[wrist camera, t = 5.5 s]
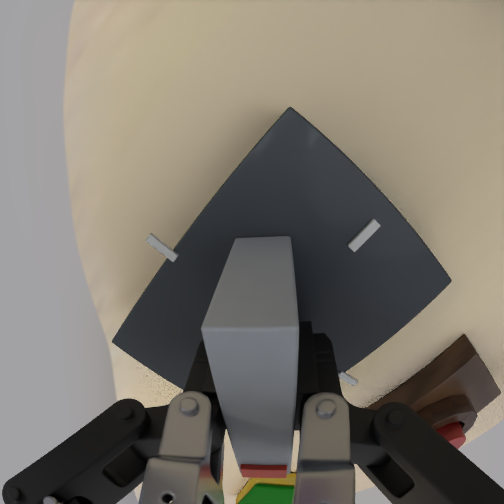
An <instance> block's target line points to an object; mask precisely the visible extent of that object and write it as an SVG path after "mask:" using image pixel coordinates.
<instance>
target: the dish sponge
mask: <svg viewBox="0 0 504 504" xmlns="http://www.w3.org/2000/svg"><path fill="white" fill-rule="evenodd" d="M295 478H296V473H290V474H287V476H286V478H251V479H250V480H249V482H248V483H247V484H246V485H245V487H244V488H243V489H242V490H241V492H240V493H239V494H238V495H237V498H236V504H292V500H293V493H294V486H295Z"/></svg>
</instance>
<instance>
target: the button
mask: <svg viewBox="0 0 504 504" xmlns="http://www.w3.org/2000/svg"><path fill="white" fill-rule="evenodd" d="M436 431H437V432H438V433H440V434H441V435H442V436H443V437H444V438H445V439H446V440H447V441H449V442H450V443H451V444H452V445H453V446H454V447H455V448H457V449H458V448H459V447H460V446H462V445H463V443H464V442H465V440H466V437H465V434H464V432H463V429H462V427H461V424H460V422H454V423H449V424H447V425H445V426H443V427H440V428H438V429H436Z"/></svg>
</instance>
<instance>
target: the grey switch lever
mask: <svg viewBox="0 0 504 504" xmlns="http://www.w3.org/2000/svg"><path fill="white" fill-rule="evenodd" d="M201 331H202V335H203V340H204V344H205V348H206V353H207V357H208V361H209V365H210V369H211V373H212V377H213V381H214V385H215V388H216V392H217V396H218V400H219V403H220V407H221V410H222V414H223V418H224V421H225V424H226V428H227V431H228V435H229V438H230V441H231V444H232V448H233V451H234V454H235V457H236V460H237V463H238V466H239V469H240V472H241V473H242V476H243V477H251V478H286V476H287V474H290V471H291V460H292V449H293V437H294V424H295V410H296V394H297V374H298V350H299V320H298V308H297V296H296V285H295V274H294V264H293V254H292V244H291V238H290V237H289V236H277V237H250V238H236V239H235V241H234V244H233V246H232V249H231V251H230V254H229V257H228V259H227V262H226V264H225V267H224V269H223V272H222V274H221V277H220V280H219V282H218V285H217V287H216V290H215V293H214V295H213V298H212V300H211V303H210V306H209V308H208V311H207V314H206V316H205V319H204V322H203V324H202V327H201Z"/></svg>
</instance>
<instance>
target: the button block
mask: <svg viewBox="0 0 504 504" xmlns="http://www.w3.org/2000/svg"><path fill="white" fill-rule="evenodd" d="M500 394H501V392H500V390H499V388H498V386H497V384H496V383H495V381H494V379H493V377H492V376H491V374H490V372H489V371H488V369H487V367H486V366H485V364H484V363H483V361H482V359H481V358H480V356H479V355H478V353H477V352H476V350H475V348H474V347H473V345H472V344H471V343H470V341H469V340H468V338H467V337H466V335H465V334H464V335H463V336H462V337H461V338H459V339H458V340H457V341H456V342H455V343H454V344H453V345H452V346H451V347H449V348H448V349H447V350H446V351H445V352H444V353H442V354H441V355H440V356H439V357H438V358H436V359H435V360H434V361H433V362H432V363H430V364H429V365H428V366H427V367H425V368H424V369H423V370H421V371H420V372H419V373H417V374H416V375H415V376H413V377H412V378H411V379H409V380H408V381H407V382H405V383H404V384H402V385H401V386H400V387H398V388H397V389H395V390H394V391H392V392H391V393H389V394H388V395H386V396H385V397H383V398H382V399H380V400H379V401H377V402H376V403H374V404H372V405H371V406H369V407H368V408H366V409H371V410H378V408H380V407H381V406H382V405H384V404H386V403H390V402H400V403H403V404H406V405H407V406H409V407H410V408H411V409H412V410H414V411H415V412H416V413H417V414H418V415H419V416H420V417H421V418H423V419H424V420H425V421H426V422H427V423H428V424H429V425H430V426H432V427H433V428H434V429H435V430H436V429H438V428H440V427H443V426H445V425H447V424H449V423H454V422H460V424H461V427H462V429H463V432H464V434H465V433H466V432H467V431H468V430H469V429H470V428H471V427H472V426H473V424H474V422H475V420H476V418H477V413H478V412H479V411H480V410H482V409H483V408H484V407H485V406H487V405H488V404H489V403H490V402H491V401H493V400H494V399H495V398H496V397H497V396H498V395H500Z"/></svg>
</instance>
